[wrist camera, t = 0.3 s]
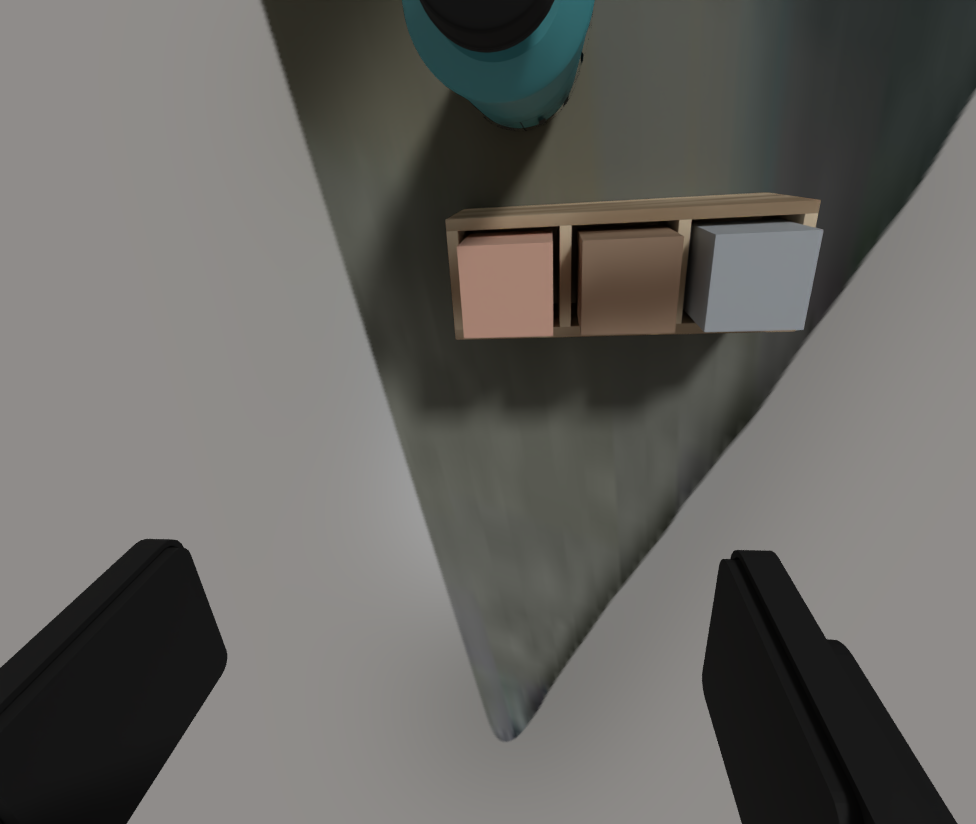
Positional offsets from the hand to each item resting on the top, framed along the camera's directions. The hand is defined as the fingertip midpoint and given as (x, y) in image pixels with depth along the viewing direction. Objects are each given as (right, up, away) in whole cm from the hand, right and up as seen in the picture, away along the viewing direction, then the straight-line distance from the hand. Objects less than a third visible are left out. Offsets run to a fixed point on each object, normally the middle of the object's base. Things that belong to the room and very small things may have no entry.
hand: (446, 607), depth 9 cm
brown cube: (+8, +12, +21) cm, 25 cm away
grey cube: (+14, +12, +20) cm, 27 cm away
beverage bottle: (+3, +23, +21) cm, 32 cm away
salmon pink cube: (+2, +12, +21) cm, 24 cm away
